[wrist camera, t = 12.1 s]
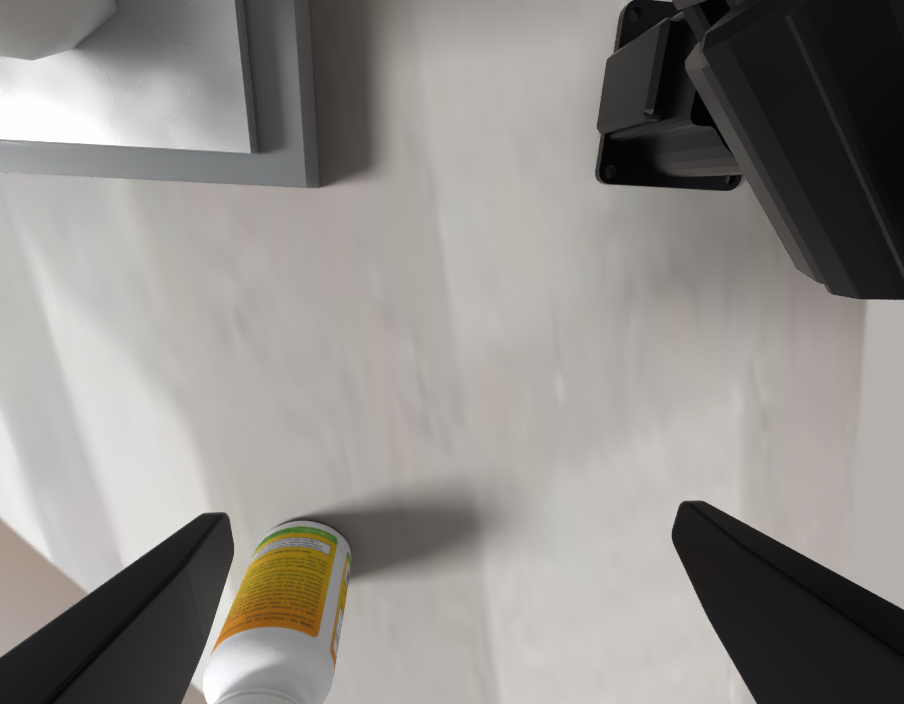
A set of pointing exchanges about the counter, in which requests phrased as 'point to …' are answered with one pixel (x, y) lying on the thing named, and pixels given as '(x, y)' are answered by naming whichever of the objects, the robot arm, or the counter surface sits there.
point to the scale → (278, 164)
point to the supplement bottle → (283, 621)
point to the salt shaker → (48, 25)
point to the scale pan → (141, 82)
